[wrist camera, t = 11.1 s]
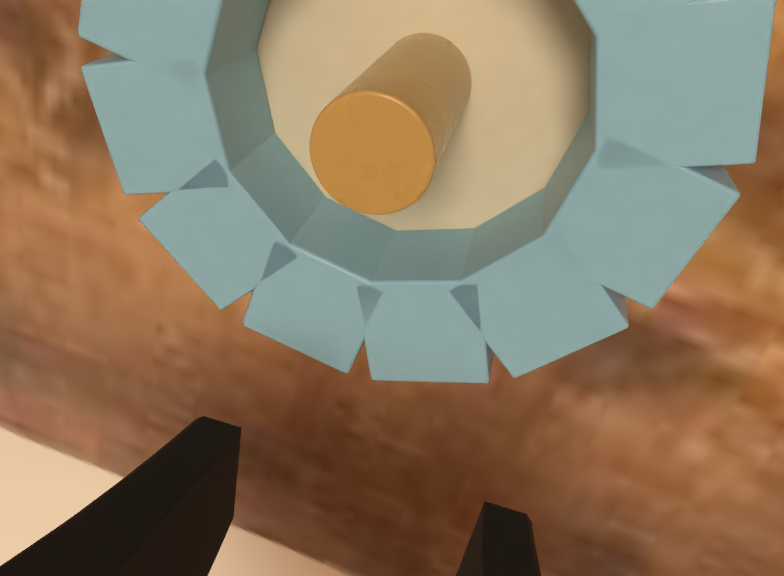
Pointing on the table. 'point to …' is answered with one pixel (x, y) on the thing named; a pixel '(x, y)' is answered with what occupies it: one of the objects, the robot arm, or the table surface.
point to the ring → (443, 246)
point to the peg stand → (426, 101)
